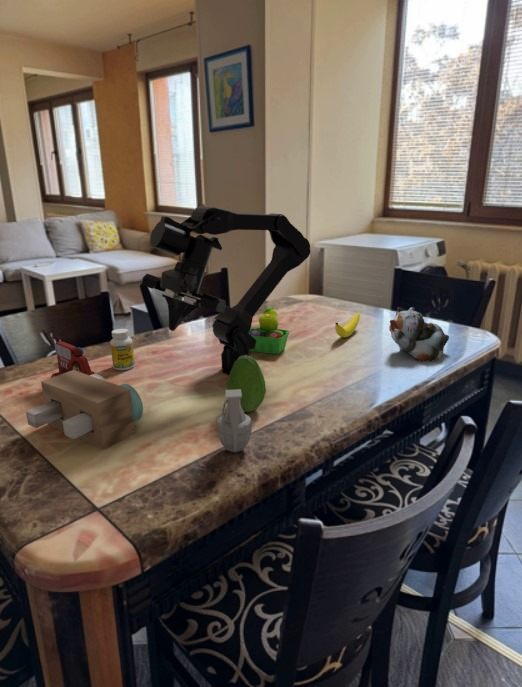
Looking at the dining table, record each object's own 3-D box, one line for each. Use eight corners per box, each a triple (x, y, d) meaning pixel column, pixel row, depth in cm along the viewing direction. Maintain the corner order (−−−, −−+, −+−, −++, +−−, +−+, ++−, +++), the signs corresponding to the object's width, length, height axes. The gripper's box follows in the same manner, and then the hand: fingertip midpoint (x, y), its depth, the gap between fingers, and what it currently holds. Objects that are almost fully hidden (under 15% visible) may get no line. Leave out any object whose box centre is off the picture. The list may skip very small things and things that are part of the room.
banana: (363, 328, 155) (364, 308, 153) (340, 345, 140) (341, 323, 138) (354, 326, 156) (355, 307, 154) (330, 343, 141) (331, 322, 139)
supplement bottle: (130, 361, 129) (127, 326, 126) (138, 368, 124) (134, 331, 121) (110, 366, 126) (106, 330, 123) (117, 372, 122) (112, 335, 119)
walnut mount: (90, 406, 104) (84, 365, 101) (145, 427, 94) (141, 384, 92) (22, 434, 92) (14, 390, 90) (78, 463, 83) (71, 414, 80)
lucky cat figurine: (436, 366, 123) (412, 318, 120) (395, 372, 132) (372, 328, 129) (456, 335, 132) (435, 290, 129) (417, 343, 141) (396, 301, 138)
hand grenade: (218, 442, 89) (215, 386, 85) (250, 440, 89) (249, 384, 86) (218, 462, 83) (215, 402, 79) (253, 460, 83) (252, 400, 80)
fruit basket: (241, 352, 135) (240, 312, 132) (254, 342, 143) (253, 304, 139) (281, 356, 131) (281, 315, 127) (291, 346, 139) (292, 307, 135)
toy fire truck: (77, 401, 106) (70, 356, 103) (48, 387, 114) (41, 344, 111) (105, 391, 111) (100, 347, 108) (76, 378, 119) (70, 336, 116)
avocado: (252, 422, 96) (251, 364, 92) (219, 413, 100) (217, 357, 96) (273, 406, 102) (272, 352, 99) (241, 398, 106) (240, 346, 103)
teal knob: (118, 415, 99) (114, 379, 96) (144, 425, 94) (141, 388, 92) (58, 443, 88) (52, 404, 86) (84, 456, 84) (78, 415, 82)
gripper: (139, 242, 103) (116, 314, 104) (218, 269, 98) (193, 343, 99) (163, 253, 113) (142, 318, 114) (236, 277, 109) (213, 344, 110)
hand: (171, 330), depth 109 cm, fingers closed
